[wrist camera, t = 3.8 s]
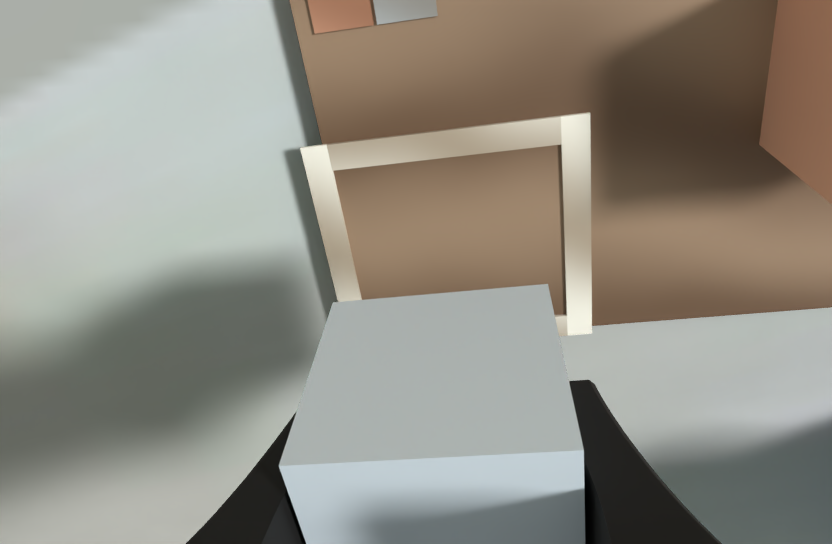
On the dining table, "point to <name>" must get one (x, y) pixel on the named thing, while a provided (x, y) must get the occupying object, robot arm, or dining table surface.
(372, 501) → the grey blue block
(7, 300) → the dining table surface
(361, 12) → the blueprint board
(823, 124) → the terracotta block
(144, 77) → the dining table surface
